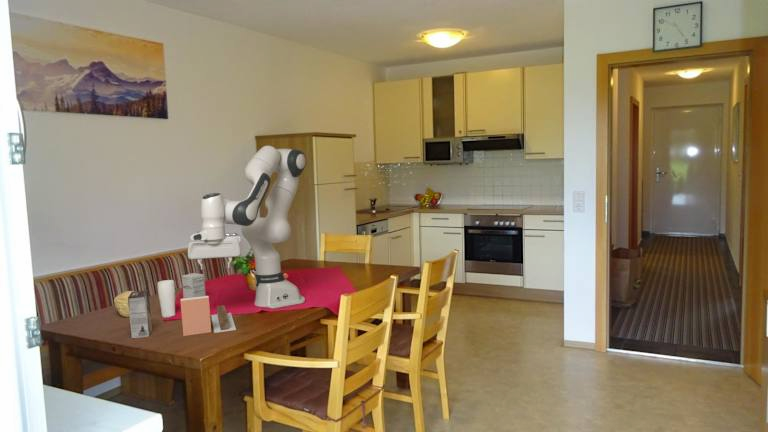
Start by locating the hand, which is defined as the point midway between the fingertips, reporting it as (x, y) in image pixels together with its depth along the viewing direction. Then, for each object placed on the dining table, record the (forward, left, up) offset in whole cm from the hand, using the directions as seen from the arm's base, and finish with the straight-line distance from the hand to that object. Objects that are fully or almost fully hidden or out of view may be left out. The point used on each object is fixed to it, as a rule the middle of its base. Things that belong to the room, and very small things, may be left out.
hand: (215, 268), depth 224 cm
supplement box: (+9, -42, -22) cm, 48 cm away
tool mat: (-1, +2, -22) cm, 22 cm away
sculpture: (+35, -30, -22) cm, 51 cm away
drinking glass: (+20, -20, -22) cm, 36 cm away
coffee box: (+29, +2, -22) cm, 36 cm away
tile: (+9, +12, -22) cm, 27 cm away
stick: (-1, +2, -22) cm, 22 cm away
